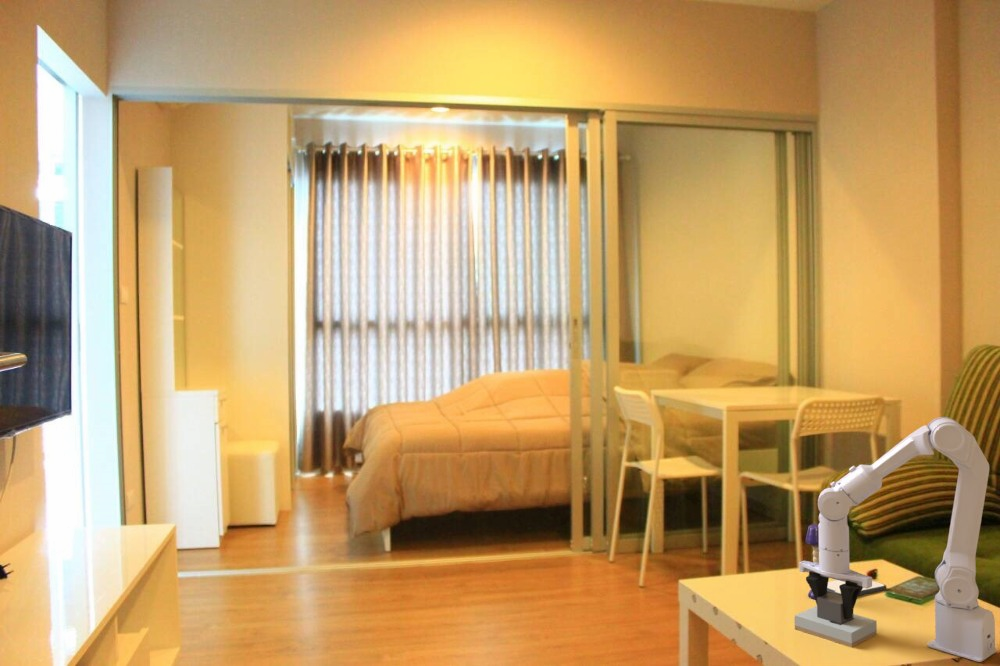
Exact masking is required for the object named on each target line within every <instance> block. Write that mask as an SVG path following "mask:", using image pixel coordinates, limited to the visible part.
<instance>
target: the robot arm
mask: <svg viewBox="0 0 1000 666" xmlns="http://www.w3.org/2000/svg"><path fill="white" fill-rule="evenodd" d="M934 449H935V450H936V451H938V452H939V453H941V454H942V455H944V456H945V457H946V458H949V459H950V460H951V461H952V463H953V464H954V465H955V466H956V467H957V468H958V475H957V481H956V487H955V493H954V500H953V506H952V512H951V517H950V525H949V532H948V537H947V544H946V548H945V550H944V552H943V557H942V561H941V562H940V564H939V565H938V566H936V568H935V571H934V579H935V581H936V584H937V585H938V587H939V591H938V592H937V593H936V594H935V595H934V623H935V624H934V629H935V631H934V632H935V639H932V640H930V641H929V642H927V644H926V646H927V647H928V648H931V649H934V650H938V651H941V652H945V653H947V654H951V655H954V656H958V657H961V658H964V659H968V660H972V661H974V662H976V663H977V662H979V663H982V662H983V661H985V660H987V658H989V657H991V656H992V655H994V654H996V652H998V650H997V648H996V631H995V630H996V624H995V623H996V622H995V621H996V619H995V616H994V613H993V611H992V610H990V609H988V608H984V607H982V606H980V605H979V601H978V599H979V598H978V597H979V593H980V591H979V588H978V587H979V586H978V584H977V582H976V573H977V567H976V566H977V565H976V557H977V556H976V555H977V554H976V553H977V549H978V544H979V537H980V536H979V535H980V530H981V524H982V517H983V512H984V511H983V510H984V506H985V500H986V499H985V498H986V494H987V493H986V492H987V487H988V480H989V474H990V464H989V462H988V460H987V458H986V455H985V454H984V453H983V450H982V449H981V447H980V445H979V444H978V442H977V440H976V438H975V436H974V435H973V434H972V433H971V432H970V431H969V430H967V429H966V428H965V427H964V426H963V425H961V424H960V423H958V421H956V420H955V419H953V418H951V417H947V416H940V417H936V418H934V419H932V420H931V421H930V422H929V423H928V424H927V425H926V424H924V425H923V426H921V427H919V428H917V429H916V430H915V431H913V432H912V433H910V434H909V435H907V436H906V437H905V438H904V439H902V440H901V441H900V442H898V443H897V444H896V445H894V446H893V447H892V448H891V449H890V450H888V451H887V452H885V453H884V454H883V455H882V456H881V457H880V458H878V459H877V460H876V461H874V462H873V463H872V464H859V465H858V466H855V465H852V466H851V467H849V468H848V470H849V472H848V473H846V475H844V476H843V477H841V478H840V479H839V480H838V481H836V482H835V481H834V480H833V481H832V482H830V483H829V484H830V487H827V488H825V489H823V490H822V491H821V492H820V493H819V496H818V499H817V507H818V511H819V515H818V521H819V523H818V524H817V525H818V527H819V563H815V562H812V561H808V560H802V561H799V562H798V570H799V571H798V572H800V573H808V575H807V576H806V577H805V581H806V583H807V584H808V586H809V588H810V590H812V592H813V594H814V597H815V599H814V601H815V603H816V605H817V597H820V596H822V595H825V594H827V586H828V581H829V579H833V580H840V581H844V582H845V584H842V585H840V586H839V588H840V591H841V595H842V602H843V614H844V619H846V620H848V619H850V618H852V613H853V614H854V609H855V605H856V602H857V599H858V598H859V597H858V596H859V594H860V592H861V590H862V589H863V588H866V589H868V588H870V587H872V581H873V577H872V576H869V575H865V574H863V573H860V572H858V571H856V570H852V569H850V568H851V567H850V526H849V525H848V516H849V512H850V509H851V507H856V506H858V505H860V503H862V502H863V501H865V500H866V499H867V498H869V497H870V496H872V495H873V494H875V493H876V492H877V491H879V490H880V489H881V488H882V485H883V478H885V477H886V476H888V475H889V474H891V473H893V472H894V471H896V470H897V469H899V468H900V467H901V466H903V465H905V464H906V463H908V462H909V461H910V460H912V459H913V458H915V457H917V456H930V455H931V456H934V455H935V453H934Z"/></svg>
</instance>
